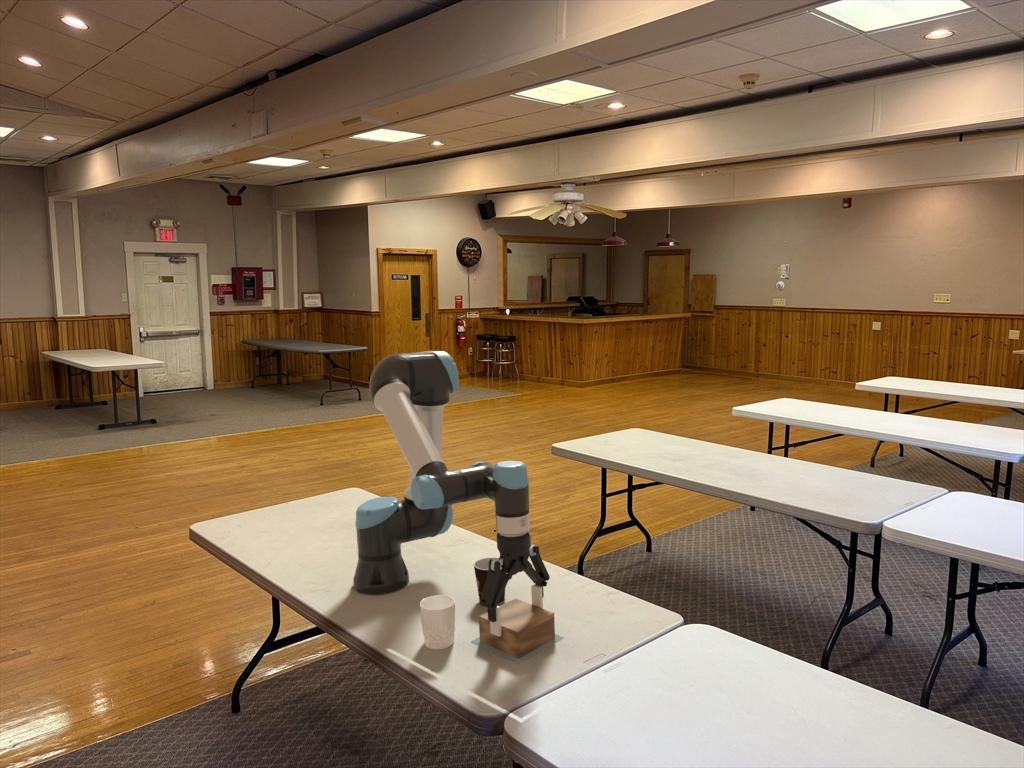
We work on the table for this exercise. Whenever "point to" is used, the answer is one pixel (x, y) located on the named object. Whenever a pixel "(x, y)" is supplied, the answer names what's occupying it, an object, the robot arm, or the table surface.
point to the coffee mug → (484, 574)
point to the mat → (514, 659)
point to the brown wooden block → (519, 628)
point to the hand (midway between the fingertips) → (517, 623)
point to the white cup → (438, 621)
